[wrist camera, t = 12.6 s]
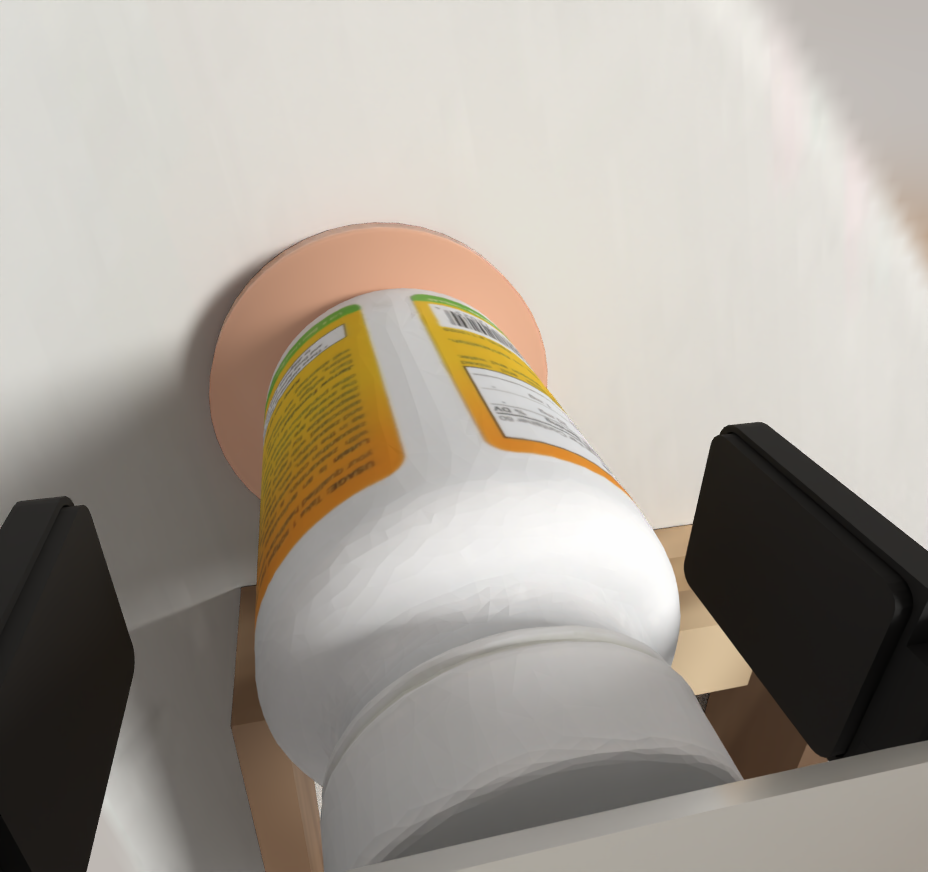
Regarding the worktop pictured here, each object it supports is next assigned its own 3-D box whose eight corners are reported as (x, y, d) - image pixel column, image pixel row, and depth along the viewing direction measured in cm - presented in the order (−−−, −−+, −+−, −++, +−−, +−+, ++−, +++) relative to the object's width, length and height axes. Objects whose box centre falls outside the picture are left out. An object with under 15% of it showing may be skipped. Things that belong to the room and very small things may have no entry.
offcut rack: (792, 510, 20) (1009, 710, 14) (706, 782, 26) (829, 997, 20) (241, 587, 17) (218, 887, 11) (297, 874, 23) (303, 1160, 17)
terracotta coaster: (547, 216, 14) (560, 225, 13) (526, 498, 17) (536, 517, 17) (182, 229, 12) (176, 239, 12) (239, 534, 16) (238, 556, 15)
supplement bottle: (295, 534, 15) (308, 1107, 7) (235, 304, 12) (142, 807, 4) (525, 487, 16) (778, 950, 8) (517, 263, 13) (896, 617, 5)
